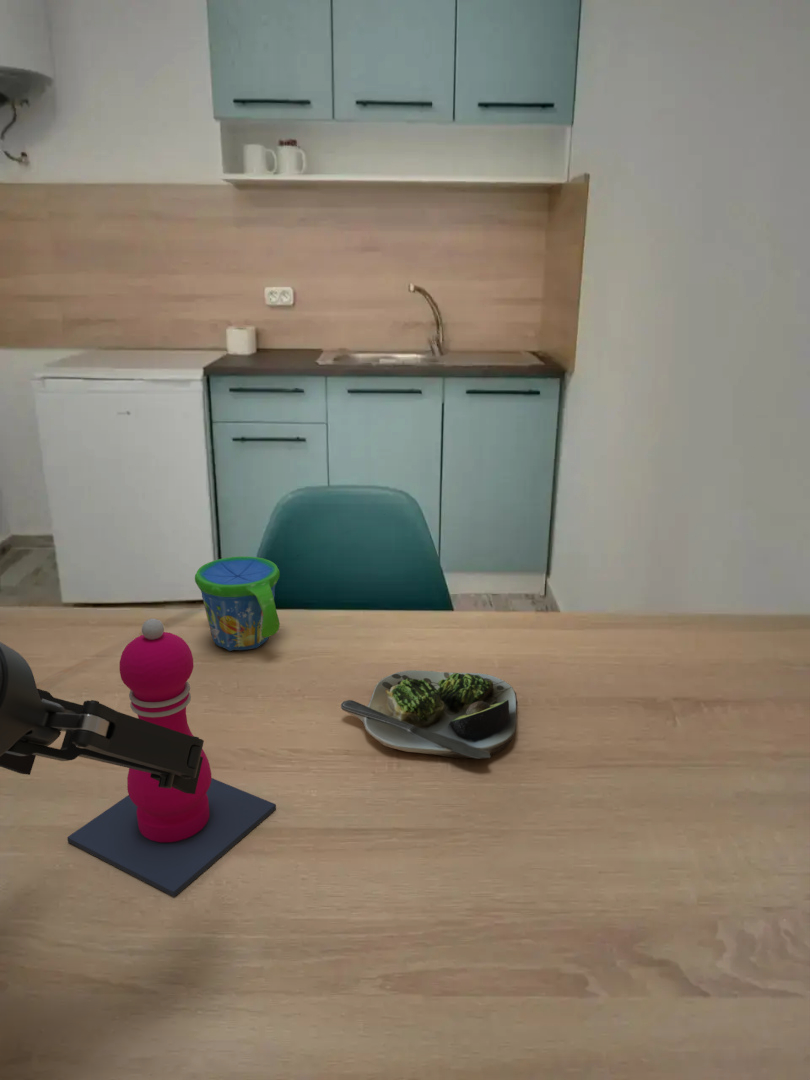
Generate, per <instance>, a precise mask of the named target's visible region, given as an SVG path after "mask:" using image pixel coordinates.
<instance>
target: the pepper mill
mask: <svg viewBox="0 0 810 1080" xmlns="http://www.w3.org/2000/svg"><path fill="white" fill-rule="evenodd" d="M141 633H142V634H141V635H138V636H137V637H135V638H133V639H132V640H131V641H130V642H129V643H128V644H127V645H126V646H125V648H124V649H123V651H122V653H121V655H120V659H119V674H120V679H121V681H122V682H123V684H124V685H125V686H126V687H127V689H128V690H130V691H129V694H128V698H129V700H130V703H129V704H130V705H129V707H130V709H131V711H132V712H133V713H134V714H135V715H137V718H138V719H141V720H144V721H147V722H150V723H153V724H156V725H159V726H162V727H165V728H168V729H171V730H174V731H177V732H180V733H183V734H186V735H189V736H194V735H193V733H192V731H191V728H190V726H189V723H188V717H187V706H188V705H189V704H190V702H191V700H192V695H191V692H190V691H191V685H190V683H189V682H188V680H189V679H190V678H191V675H192V673H193V671H194V656H193V653H192V650H191V647H190V646H189V644H188V643H187V642H186V641H185V640H184V639H183V638H182V637H180V636H179V635H177V634H175V633H172V632H167V631H165V627H164V623H163V622H162V621H161V620H159V619H157V618H149V619H147V620H145V621H144V622H143V624H142V625H141ZM201 757H203V761H202V765H201V769H200V774H199V778H198V783H197V787H196V791H195V794H189V793H184V792H182V791H180V790H178V789H175V788H173V787H171V788H161V787H158V785H159V781H158V780H155V779H153V778H151V777H150V776H151V773H148V772H144V771H139V770H135V769H131V768H128V773H127V780H126V781H127V782H126V784H127V786H126V787H127V794H128V795H129V797H130V799H131V800H132V802H133V803H134V804H135V805H136V806H137V820H138V827H139V830H140V832H141V834H142V835H143V836H144V837H146V838H148V839H150V840H152V841H156V842H176V841H180V840H183V839H186V838H189V837H191V836H193V835H195V834H196V833H198V832H199V831H200V830H201V829H202V828H203V827H204V826H205V825H206V823H207V821H208V819H209V802H208V796H207V794H206V792H207V791H208V789H209V787H210V784H211V778H213V777H212V769H211V765H210V761H209V759H208V757H207V755H206V753H205V751H204V749H203V748H202V752H201Z"/></svg>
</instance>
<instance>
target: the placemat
mask: <svg viewBox="0 0 810 1080" xmlns="http://www.w3.org/2000/svg"><path fill="white" fill-rule="evenodd" d="M206 794H207V796H208V802H209V819H208V821H207V823H206V825H205V826H204V827H203V828H202V829H201V830H200V831H199V832H198V833H196V834H195V835H193V836H191V837H189V838H186V839H183V840H180V841H176V842H156V841H152V840H150V839H148V838H146V837H144V836H143V835H142V834H141V832H140V830H139V827H138V820H137V806H136V805H135V804H134V803H133V802H132V800H131V799H130V797H129V794H128V795H126V796H124V797H123V798H122V799H121V800H119V801H118V802H116V803H115V804H113V805H112V806H111V807H109V808H107V809H106V810H104V811H103V812H101V813H100V814H99V815H97V816H96V817H94V818H93V819H92V820H89V822H87V823H86V824H84V825H83V826H81V827H79V829H77V830H75V831H74V832H73V833H71V834H69V835H68V836H67V838H66V839H67V843H68V844H70V845H72V846H74V847H76V848H78V849H80V850H82V851H84V852H86V853H87V854H90V855H92V856H93V857H95V858H97V859H99V860H101V861H103V862H105V863H107V864H109V865H111V866H113V867H115V868H117V869H119V870H120V871H122V872H124V873H126V874H129V875H130V876H132V877H134V878H136V879H138V880H140V881H141V882H144V883H146V884H148V885H150V886H151V887H154V888H155V889H157V890H159V891H161V892H163V893H165V894H167V895H169V896H170V897H173V898H175V897H177V896H178V895H179V894H180V893H181V892H182V891H183V890H185V889H186V888H187V887H188V886H189V885H190V884H192V883H193V882H194V881H195V880H196V879H197V878H198V877H200V876H201V875H202V874H203V873H205V871H207V870H208V869H209V868H211V866H212V865H214V864H215V863H216V862H217V861H218V860H220V858H221V857H223V856H224V855H225V854H227V853H228V852H229V851H230V850H231V849H232V848H234V847H235V846H236V845H237V844H238V843H239V842H240V841H241V840H243V839H244V838H245V837H246V836H247V835H249V834H250V832H252V831H253V830H254V829H256V828H257V827H258V826H259V825H260V824H261V823H262V822H263V821H264V820H265V819H266V818H268V817H269V816H270V815H272V814H273V813H274V812H275V811H276V810H277V804H276V803H274V802H271V801H269V800H267V799H264V798H262V797H259V796H256V795H254V794H252V793H250V792H247V791H246V790H245V791H244V790H242V789H239V788H237V787H234V786H232V785H230V784H228V783H225V782H222V781H220V780H218V779H215V778H213V777H212V778H211V784H210V787H209V789H208V791H207V792H206Z"/></svg>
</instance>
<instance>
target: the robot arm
mask: <svg viewBox="0 0 810 1080" xmlns="http://www.w3.org/2000/svg"><path fill="white" fill-rule="evenodd" d="M37 687H38V686H37V684H36V679H35V676H34V673H33V670H32V668H31V666H30V664H29V663H28V661H27V660H26V659H25V657H23V655H22V654H21V653H19V652H18V651H17V650H15V649H14V648H12V647H10V646H8V645H6V644H5V643H3V642H1V641H0V768H3V769H6V770H8V771H12V772H15V773H17V774H20V775H29V776H31V773H32V770H33V767H34V764H35V760H36V757H42V758H45V759H46V758H47V759H50V760H55V761H58V762H59V761H60V762H68V761H74V760H76V759H77V758H78V757H79V758H83V759H88V760H92V761H97V762H102V763H105V764H110V765H114V766H118V767H123V768H126V769H129V768H131V769H135V770H139V771H144V772H148V773H151V776H150V777H151V778H153V779H155V780H158V781H159V785H158V787H161V788H171V787H173V788H175V789H178V790H180V791H182V792H184V793H189V794H195V791H196V787H197V783H198V778H199V774H200V769H201V765H202V761H203V757H201V752H202V749H203V747H204V743H205V740H204V739H202V738H200V737H199V736H194V735H193V736H189V735H186V734H183V733H180V732H177V731H174V730H171V729H168V728H165V727H162V726H159V725H156V724H153V723H150V722H147V721H144V720H141V719H139V718H138V717H135V716H132V715H129V714H125V713H122V712H120V711H118V710H115V709H114V708H111V707H109V706H108V705H106V704H103V703H100V701H98V700H94V699H91V700H84V701H83V704H79V703H77V702H72V701H68V700H66V699H60V698H58V697H54V696H53V695H52V693H50V691H47V690H44V689H40V688H37ZM62 732H64V737H63V741H62V744H61V746H60V748H56V747H51V745H53V743H54V742H55V741H57V739H58V738H59V737H60V736H61V734H62Z"/></svg>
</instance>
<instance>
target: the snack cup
mask: <svg viewBox="0 0 810 1080" xmlns="http://www.w3.org/2000/svg"><path fill="white" fill-rule="evenodd" d="M280 576H281V574H280V569H279V568H278V565H277V564H276V563H274V562H273V561H271V560H269V559H266V558H263V557H259V556H258V557H257V556H248V555H247V556H245V555H244V556H240V555H239V556H229V557H224V558H223V557H222V558H219V559H215V560H212V561H209V562H207V563H204V564H203V565H201V566H200V567H199V568H198V569H197V570H196V573H195V574H194V582H195V584H196V585H197V587H198V589H199V590H200V592H201V598H202V600H203V601H202V602H203V606H204V610H205V615H206V619H207V622H208V626H209V631H210V635H211V638H212V641H213V642H214V643H215V645H216V646H218V647H219V648H224V649H225V650H227V651H229V652H231V651H234V650H235V651H248V650H252V649H257V648H259V647H260V646H261V645H263V644H265V643H266V642H267V641H268V640H269V638H270V637H271V636H274V635H276V634H277V632H279V630H280V625H281V623H280V619H279V615H278V611H277V608H276V603H275V596H276V595H275V591H276V590H275V589H276V585H277V583H278V581H279V579H280Z"/></svg>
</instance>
